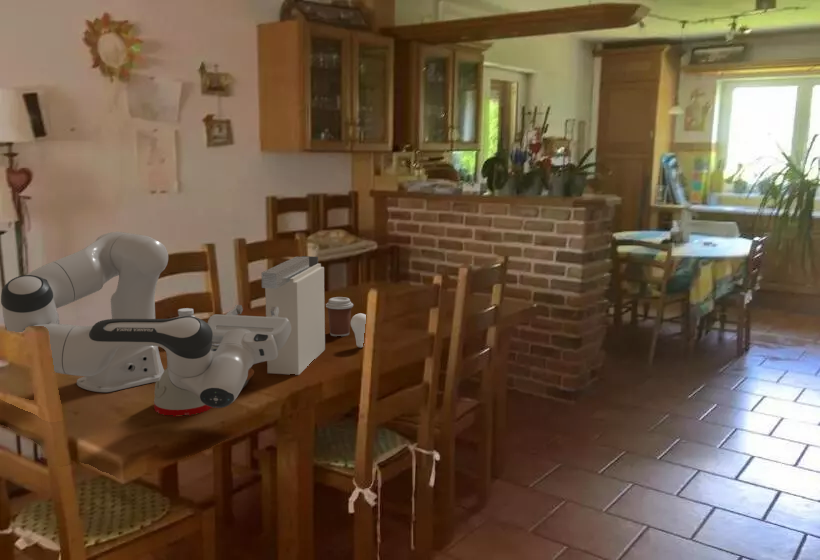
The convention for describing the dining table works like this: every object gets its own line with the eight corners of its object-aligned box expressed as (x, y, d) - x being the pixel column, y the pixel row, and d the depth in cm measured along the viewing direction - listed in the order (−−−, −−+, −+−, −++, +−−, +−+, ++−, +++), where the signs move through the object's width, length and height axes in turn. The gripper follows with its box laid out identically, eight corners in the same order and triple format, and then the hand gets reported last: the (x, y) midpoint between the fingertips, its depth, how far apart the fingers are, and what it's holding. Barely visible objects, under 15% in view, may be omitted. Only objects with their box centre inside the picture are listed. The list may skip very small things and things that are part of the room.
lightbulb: (365, 351, 228) (365, 316, 226) (347, 349, 230) (347, 314, 228) (373, 346, 234) (373, 312, 232) (355, 344, 235) (355, 310, 233)
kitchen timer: (201, 393, 189) (199, 336, 186) (223, 408, 178) (221, 348, 175) (146, 404, 181) (143, 344, 178) (166, 421, 170) (162, 358, 167)
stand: (298, 375, 204) (296, 271, 199) (267, 373, 205) (264, 270, 200) (325, 349, 230) (324, 256, 224) (297, 347, 231) (296, 255, 226)
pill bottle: (192, 346, 231) (191, 312, 229) (174, 345, 232) (172, 311, 230) (200, 341, 237) (198, 307, 235) (181, 340, 238) (180, 307, 236)
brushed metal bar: (276, 288, 191) (276, 273, 190) (261, 287, 191) (261, 272, 191) (309, 270, 218) (308, 257, 217) (296, 269, 219) (295, 256, 218)
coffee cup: (325, 337, 243) (324, 302, 241) (327, 330, 252) (326, 296, 250) (352, 337, 244) (352, 302, 241) (353, 330, 253) (353, 296, 250)
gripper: (201, 354, 176) (221, 315, 187) (283, 359, 173) (298, 318, 183) (194, 335, 172) (215, 296, 183) (277, 340, 169) (294, 299, 179)
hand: (257, 307), depth 183 cm, fingers open, 8 cm apart
